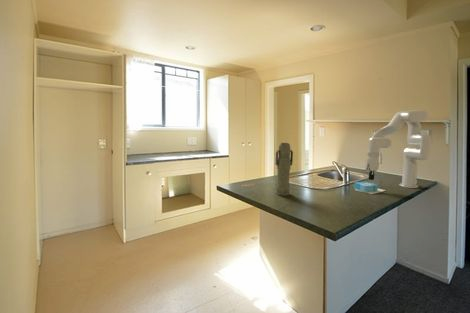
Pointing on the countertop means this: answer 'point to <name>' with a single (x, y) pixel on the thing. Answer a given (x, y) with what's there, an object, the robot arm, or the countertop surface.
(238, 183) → the countertop surface
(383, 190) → the mat
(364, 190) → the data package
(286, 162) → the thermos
